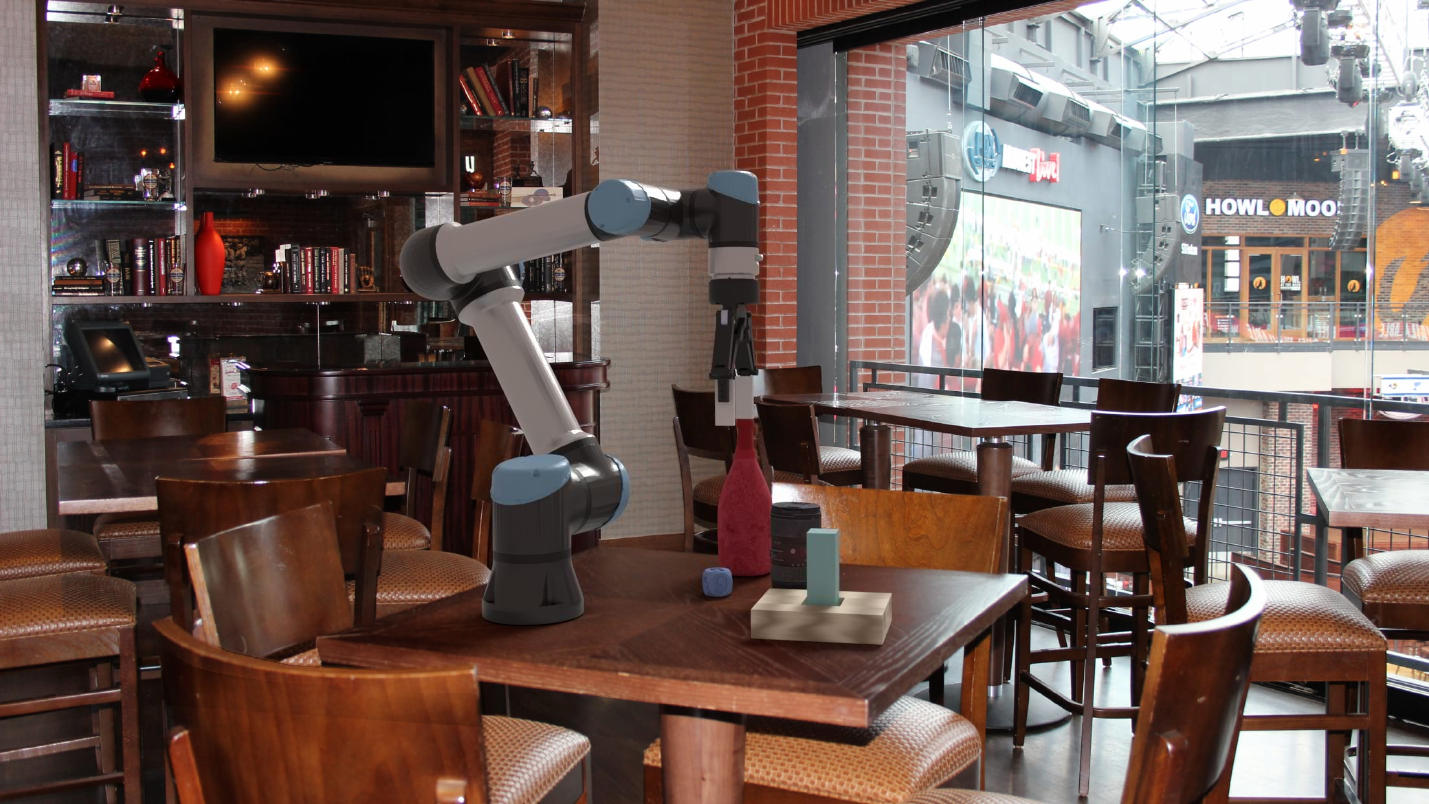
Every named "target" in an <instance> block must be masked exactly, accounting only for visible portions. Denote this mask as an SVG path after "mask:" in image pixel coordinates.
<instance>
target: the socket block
mask: <svg viewBox="0 0 1429 804" xmlns="http://www.w3.org/2000/svg"><path fill="white" fill-rule="evenodd" d="M892 595H893V593H891V592H868V591H867V592H866V591H863V592H862V591H847V590H845V591H844V590H843V591H842V590H839V606H821V605H807V590H795V589H772V588H769V589H768V590H766V592H765V593H764V594H763V595H762V596H761V598H760V599H759V600H758V601H757V602H756V603H755V604H754V605H753V606H752V607H751V609H750V638H751V639H758V640H760V639H761V640H778V641H798V642H799V641H800V642H817V643H818V642H821V643H841V644H842V643H843V644H844V643H845V644H859V645H861V644H862V645H883V644H884V643H885V639H886V637H887V634H888V632H889V630H890V629H889V628H890V626H891V624H892V621H893V616H892V615H893V614H892V613H893V605H892V604H893V601H892V600H893V596H892Z"/></svg>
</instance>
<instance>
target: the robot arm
mask: <svg viewBox="0 0 1429 804" xmlns="http://www.w3.org/2000/svg"><path fill="white" fill-rule="evenodd" d="M706 181H707V182H706V187H705V186H704V187H699V188H686V189H683V188H681V189H680V188H679V189H673V188H669V187H668V188H667V187H663V186H658V185H652V184H647V183H644V182H638V181H634V180H632V179H628V178H609V179H605V180H602V181H601V182H600V183H598V184H597V185H596V186H595V187H594V188H593V190H590V191H586V192H583V193H579V194H575V195H571V196H567V197H564V198H560V199H556V200H553V201H548V202H545V203H542V204H538V205H534V206H530V207H527V208H523V209H518V210H516V211H511V212H508V213H504V214H500V215H497V216H496V215H495V216H492V217H490V218H485V219H481V220H478V221H474V222H469V223H467V224H462V223H460V222H457V221H448V222H445V223H441V224H437V225H432V226H427V227H425V228H421V229H418V230H417V231H415V232H413V234H411V235H410V236H409V237H408V238H407V239H406V241H404V243H403V246H402V248H401V251H400V253H399V270H400V273H401V276H402V278H403V280H404V282H405V283H406V285H407V286H408V288H410V290H412V292H414V293H416V294H417V295H418V296H420V297H422V298H425V299H428V300H432V301H440V302H441V301H443V302H445V301H447V302H450V303H451V306H452V308H453V310H454V313H455V314H456V316H457V318H458V320H459V322H460V323H461V324H464V325H467V326H470V327H473V330H474V333H475V334H476V336H477V338H478V341H479V342H480V345H481V347H482V349H483V351H484V353H485V355H486V357H487V359H488V361H489V364H490V365H491V367H492V370H493V372H494V374H495V377H496V378H497V381H498V382H499V384H500V387H501V389H502V391H503V393H504V395H505V397H506V400H507V401H508V404H509V405H510V407H511V409H512V412H513V414H514V416H515V418H516V420H517V422H518V424H519V426H520V429H521V431H522V433H523V434H524V436H525V439H526V441H527V443H528V445H529V447H530V450H531V452H532V454H530V455H528V456H518V457H513V458H511V459H507V460H504V461H502V462H500V463H499V464H498V465H496V466H495V467H494V469H493V470H492V474H491V487H490V489H489V491H490V498H491V527H492V528H491V531H492V532H491V533H492V567H491V571H490V573H489V577H488V581H487V584H486V587H485V591H484V595H483V596H482V600H481V614H482V615H481V616H482V618H483V619H485V620H486V621H489V622H492V623H497V624H502V625H504V624H505V625H512V626H513V625H518V626H527V625H528V626H530V625H545V624H554V623H561V622H564V621H565V622H566V621H569V620H573V619H577V618H578V617H580V616H581V615H582V614H584V611H585V604H584V603H585V602H584V595H583V592H582V589H581V586H580V584H579V580H578V577H577V575H576V571H575V569H574V566H573V561H572V536H573V535H577V534H581V533H585V532H589V531H590V532H592V531H598V530H600V529H602V528H604V527H605V526H609V525H610V524H612V523H614V522H615V521H617V520H618V519H619V518H620V517H621V516H622V515H623V513H624V512H625V511H626V508H627V506H628V503H629V499H630V497H631V481H630V476H629V474H628V471H627V469H626V468H625V466H624V464H623V463H622V462H621V461H620V460H619V459H617V458H616V457H613V456H611V455H609V454H608V453H604V452H603V449H602V448H601V445H600V444H599V441H598V440H597V437H596V436H595V435H594V434H591V433H588V432H585V431H583V430H582V428H581V426H580V424H579V422H578V419H577V418H576V416H575V414H574V412H573V409H572V408H571V405H570V404H569V401H568V399H567V398H566V395H565V393H564V391H563V390H562V389H563V388H562V387H561V385H560V383H559V381H558V379H557V376H556V375H555V373H554V370H553V369H552V367H551V365H550V362H549V361H548V358H547V356H546V354H545V351H544V350H543V348H542V346H541V344H540V342H539V340H538V337H537V335H536V334H535V332H534V330H533V327H532V326H531V323H530V322H529V319H528V317H527V315H526V313H525V311H524V309H523V307H522V305H521V304H522V302H523V300H524V296H525V290H524V288H523V282H524V277H523V274H524V273H525V267H524V266H525V265H524V263H525V262H529V261H533V260H536V259H540V258H544V257H548V256H552V255H553V256H554V255H557V254H560V253H565V252H568V251H569V252H570V251H572V250H577V249H580V248H585V247H588V246H592V245H597V244H601V243H603V242H605V243H606V242H610V241H615V240H618V239H623V238H626V237H633V236H635V237H639V238H640V239H641V240H642V241H646V242H660V243H667V242H668V241H669V242H670V241H682V240H683V241H684V240H685V241H686V240H699V239H700V240H701V239H702V240H707V243H708V245H707V246H708V247H707V249H708V250H707V251H708V252H707V254H708V255H707V263H708V265H707V274H708V276H709V277H711V279H710V280H709V281H708V302H709V304H710V305H712V306H722V308H721V309H720V310H719V309H716V311H715V331H714V339H713V340H714V342H713V351H712V361H711V369H710V372H709V373H708V379H709V380H710V381H711V380H712V381H713V380H714V402H715V403H714V406H715V411H714V412H715V413H714V417H715V419H714V420H715V422H714V423H715V424H714V425H715V426H720V427H721V426H722V427H723V426H725V427H727V426H728V427H730V426H731V427H733V426H736V419H754V418H755V417H754V416H755V413H754V411H755V404H754V402H755V400H754V399H755V396H754V395H755V393H754V392H755V391H754V376H759V372H760V371H759V368H757V364H756V356H755V355H756V354H755V345H754V344H755V343H754V335H753V326H752V325H753V324H752V323H753V322H752V320H753V319H752V316H753V315H752V311H751V310H747V308H746V307H747V306H749V305H750V306H751V305H754V306H755V305H758V304H759V303H760V299H761V298H760V297H761V296H760V295H761V294H760V291H761V289H760V287H761V286H760V281H759V279H758V278H756V276H758V275H759V274H760V264H759V262H762V261H763V260H764V256H763V254H760V251H759V250H760V242H759V240H760V238H759V237H760V234H759V233H760V232H759V231H760V205H761V201H760V196H759V181H758V177H757V175H755V174H754V173H753V172H750V171H747V170H720V171H719V170H718V171H713V172H711V173H710V174H708V176H707V180H706ZM734 369H735V370H736V374H737V375H735V376H734ZM733 377H734V379H733ZM754 420H755V419H754Z"/></svg>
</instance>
